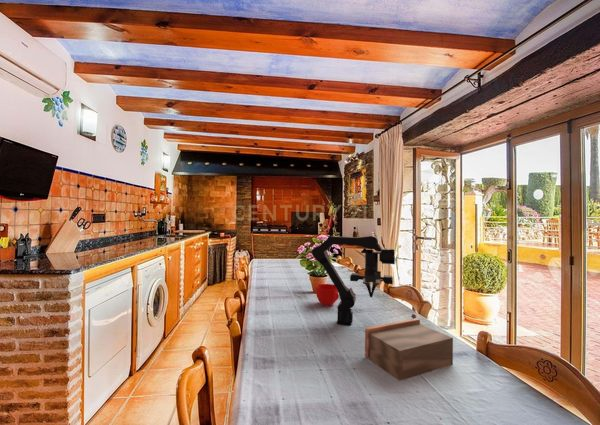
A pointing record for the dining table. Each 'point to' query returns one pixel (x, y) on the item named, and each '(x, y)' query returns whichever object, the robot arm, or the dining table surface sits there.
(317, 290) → the ceramic cup
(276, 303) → the dining table surface
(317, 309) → the dining table surface
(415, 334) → the cabinet
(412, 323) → the drawer
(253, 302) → the dining table surface
